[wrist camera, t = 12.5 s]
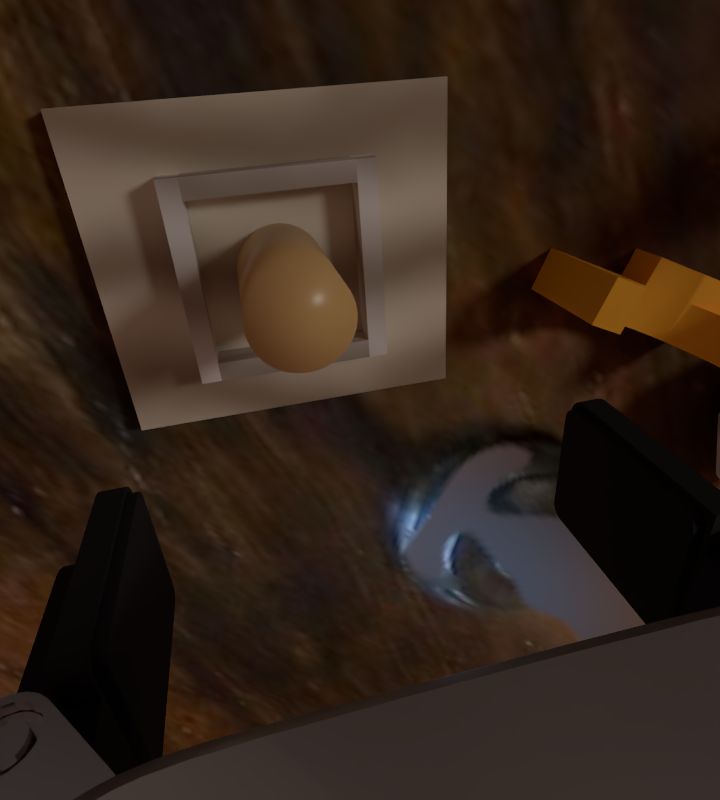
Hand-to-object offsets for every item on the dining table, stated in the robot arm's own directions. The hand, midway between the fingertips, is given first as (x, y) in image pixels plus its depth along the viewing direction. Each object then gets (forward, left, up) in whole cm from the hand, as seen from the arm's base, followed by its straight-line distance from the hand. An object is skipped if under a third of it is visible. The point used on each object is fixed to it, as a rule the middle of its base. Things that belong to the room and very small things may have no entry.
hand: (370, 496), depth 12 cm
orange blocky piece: (+4, +21, -21) cm, 30 cm away
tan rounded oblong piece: (0, 0, -19) cm, 19 cm away
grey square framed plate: (0, 0, -20) cm, 20 cm away
